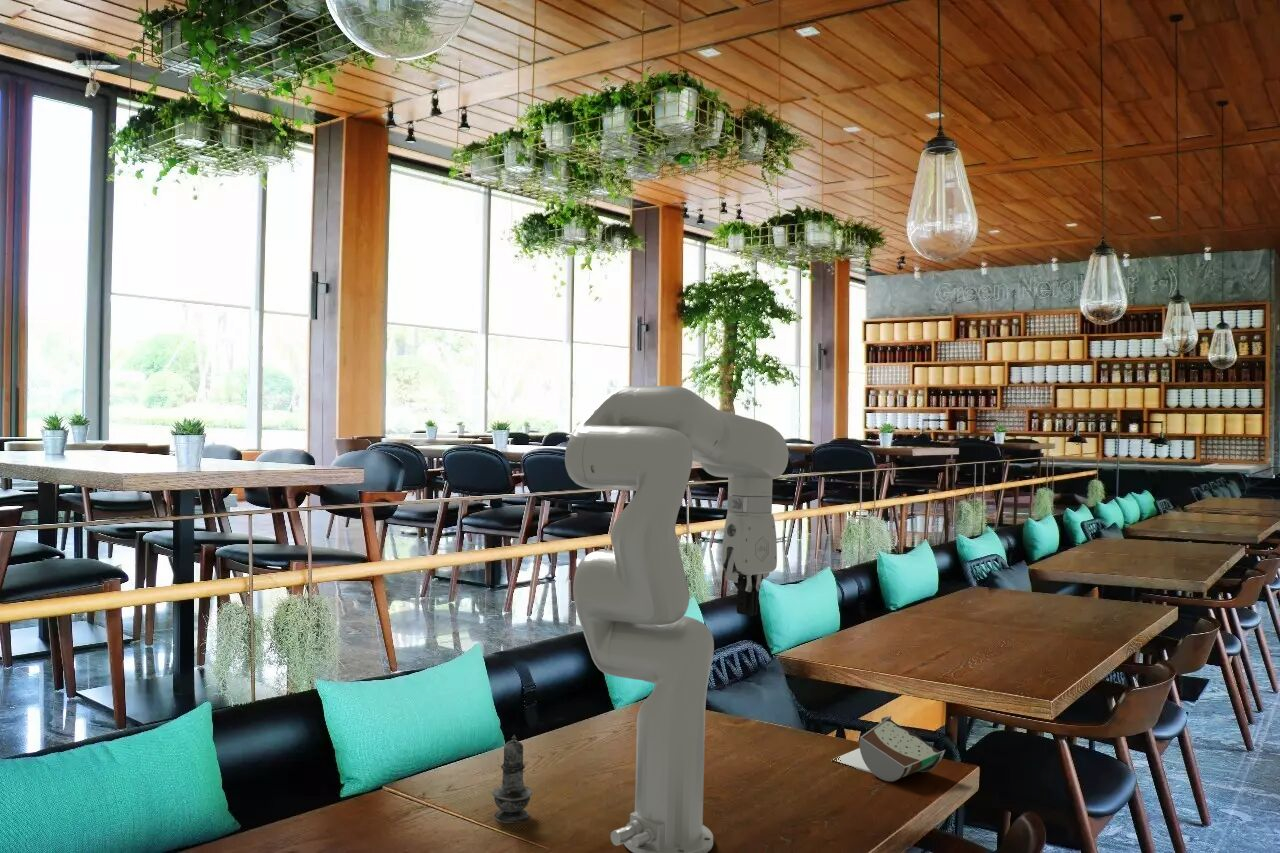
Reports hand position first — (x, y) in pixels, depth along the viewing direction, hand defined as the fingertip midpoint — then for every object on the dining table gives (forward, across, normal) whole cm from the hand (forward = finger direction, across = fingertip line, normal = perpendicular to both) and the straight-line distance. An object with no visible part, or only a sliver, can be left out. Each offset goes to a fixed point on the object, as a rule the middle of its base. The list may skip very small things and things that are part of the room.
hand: (747, 613), depth 160 cm
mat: (+27, +22, -12) cm, 37 cm away
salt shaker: (+27, -40, +12) cm, 50 cm away
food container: (+25, +15, -17) cm, 34 cm away
